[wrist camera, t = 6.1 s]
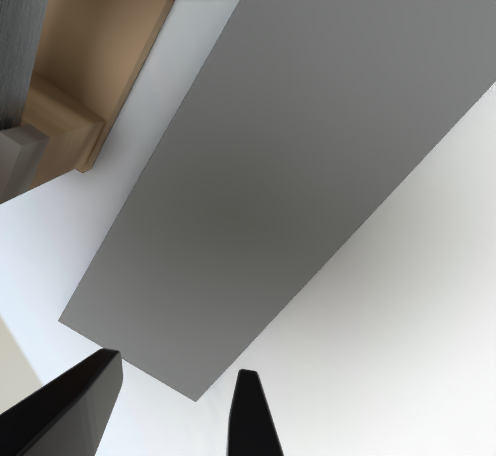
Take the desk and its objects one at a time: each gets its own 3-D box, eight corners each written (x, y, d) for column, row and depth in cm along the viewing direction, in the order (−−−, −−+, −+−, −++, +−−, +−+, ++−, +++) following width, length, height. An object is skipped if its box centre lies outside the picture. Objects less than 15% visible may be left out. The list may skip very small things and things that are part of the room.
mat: (544, 20, 14) (554, 18, 14) (198, 394, 25) (195, 402, 24) (337, -164, 13) (338, -175, 12) (63, 314, 23) (58, 320, 23)
